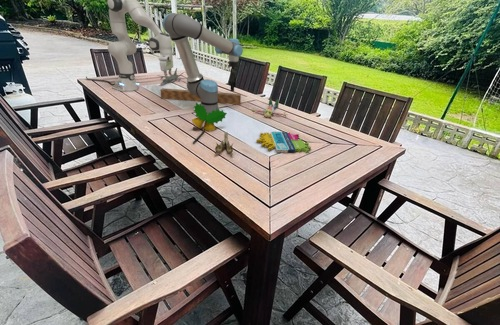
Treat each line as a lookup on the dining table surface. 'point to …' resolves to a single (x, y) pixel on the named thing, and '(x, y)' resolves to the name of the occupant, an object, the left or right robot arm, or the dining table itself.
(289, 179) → the dining table surface
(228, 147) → the jawbone
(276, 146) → the sign
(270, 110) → the toy
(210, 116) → the ornament
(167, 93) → the beam
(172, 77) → the airplane
